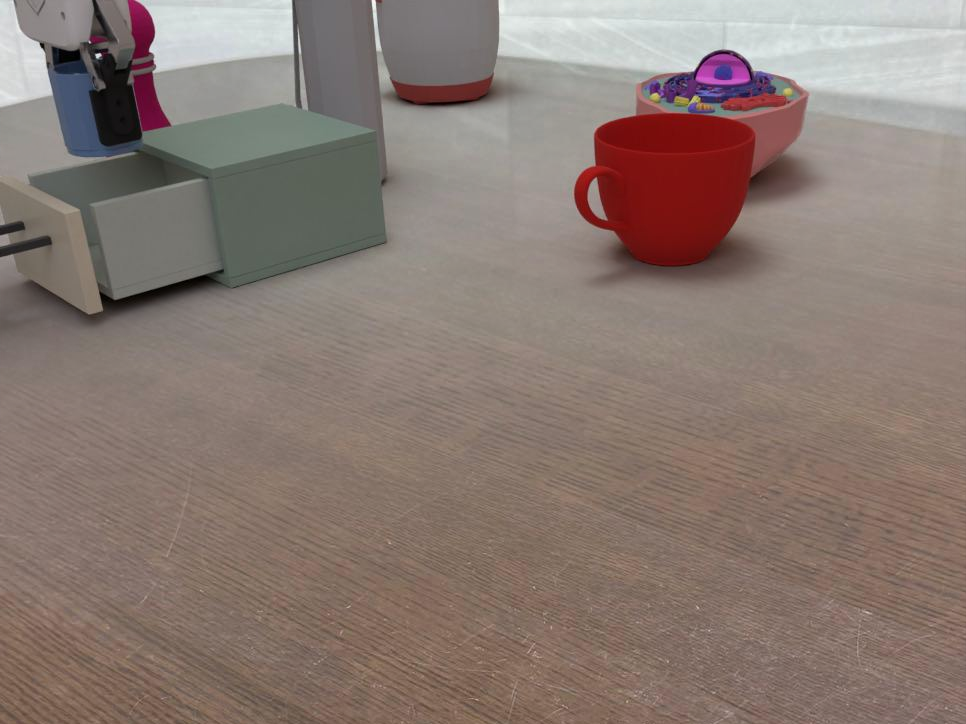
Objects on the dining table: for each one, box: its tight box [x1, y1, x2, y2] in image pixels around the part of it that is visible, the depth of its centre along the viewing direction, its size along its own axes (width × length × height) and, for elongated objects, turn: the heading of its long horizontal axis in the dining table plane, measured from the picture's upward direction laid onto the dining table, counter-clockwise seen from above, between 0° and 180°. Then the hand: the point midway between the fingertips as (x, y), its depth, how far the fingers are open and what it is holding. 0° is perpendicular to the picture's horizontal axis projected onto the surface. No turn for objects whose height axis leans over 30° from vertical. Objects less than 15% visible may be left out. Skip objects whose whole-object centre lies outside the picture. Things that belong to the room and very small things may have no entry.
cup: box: [47, 57, 144, 158], centre depth 92 cm, size 6×6×6 cm
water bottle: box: [291, 0, 388, 182], centre depth 115 cm, size 9×8×25 cm
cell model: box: [635, 48, 810, 179], centre depth 118 cm, size 17×20×11 cm
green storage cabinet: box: [129, 102, 387, 289], centre depth 104 cm, size 16×15×10 cm
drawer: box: [0, 151, 224, 316], centre depth 95 cm, size 20×13×8 cm, turn 132°
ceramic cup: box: [573, 113, 755, 267], centre depth 98 cm, size 13×17×10 cm
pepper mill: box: [89, 0, 173, 158], centre depth 112 cm, size 7×7×20 cm
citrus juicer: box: [374, 0, 500, 105], centre depth 148 cm, size 16×17×20 cm
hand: (102, 132), depth 93 cm, fingers closed on cup, 5 cm apart
